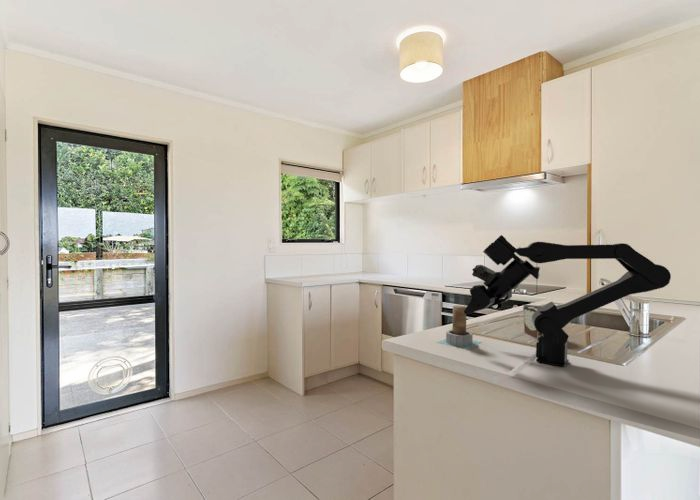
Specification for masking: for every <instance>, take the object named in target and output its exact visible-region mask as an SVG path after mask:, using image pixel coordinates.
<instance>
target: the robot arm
mask: <svg viewBox="0 0 700 500" xmlns="http://www.w3.org/2000/svg"><path fill="white" fill-rule="evenodd" d="M482 252H483V253H484V254H485V255H486V256H487V257H488V258H489V259H491V261H492V262H493V263H494V264H496V265H497V266H499V265H500V264H501V265H502V266H503V267H504V266H505V265H506V264H507V265H506V266H505V267H504V268H503V269H501V271H495V270H493V269H491V268H489V267H487V266H485V265H483V264H477V265H475V266H474V268H472V273H471V276H473V277H475V278H478V279H479V280H481V281H484V282H483V284H476V285H473V286H472V287H471V288H470V289H469V294H470V296H471V297H470V298H471V299H470V300H469V303H467V305H466V306H465V307H466V309H465V310H464V313H465V314H466V316H467V315H469V314H472V313H475V312H479V311H482V310H485V309H487V308H490V307H491V308H492V307H493V306H497V305H501V304H503V303H505V302H508V301H509V300H510V299H511V298H512V297H513V292H512V291H513V290H516V289H517V288H518V287H519V285H520V284H521V283H523V282H524V281H525V280H526V279H527V278H528V277H529V276H532V277H533V278H535V279H536V280H537V279H539V277H540V270H541V269H540V268H541V267H539V266H534V265H533V264H532V263H535V264H547V263H551V262H557V261H563V260H568V259H569V260H578V259H579V260H585V259H586V260H590V259H591V260H593V259H594V260H597V259H599V260H600V259H601V260H604V259H607V260H609V259H613V260H614V259H615V260H616V261H617V262H618V263H619V264H620V265H621V266H622V267H623V268H624V269H625V270H626V272H625V273H624V274H623V275H622V276H621V277H620V278H618V279H617V280H616V281H613V282H611V283H608V284H607V285H605V286H602V287H600V288H597V289H595V290H593V291H591V292H588V293H586V294H583V295H581V296H579V297H578V298H575V299H572V300H570V301H568V302H565V303H564V304H559V305H556V304H555V303H554V302H553V301H549V302H548V303H547V304H545V305H544V306H543V305H542V306H543V307H538V308H537V309H538V310H537V311H536V312H534V313H533V316H532V322H533V325H534V326H535V328H536V330H537V331H538V332H540V333H541V334H542V335H543V336H540V337H539V340H537V342H536V344H535V346H536V349H535V350H536V351H535V357H536V359H535V361H536V362H538V363H543V364H548V365H553V366H557V367H562V368H563V367H565V366H566V365H567V364H568V363H569V361H570V360H569V359H568V342H569V341H568V339H569V337H570V336H569V335H568V333H567V332H566V330H564V328H565V327H566V326H568V324H569V323H570V322H572V321H573V320H574V319H576V318H578V317H581V316H583V315H586V314H588V313H591V312H592V311H595V310H597V309H599V308H602V307H604V306H607V305H609V304H610V303H614V302H615V301H619V300H621V299H623V298H625V297H628V296H629V295H635V294H636V295H637V294H640V293H647V292H652V291H656V290H660V289H663V288H665V287H666V286H669V284H670V281H671V280H672V279H671V278H672V277H671V275H672V274H671V272H670V270H669V269H668V268H667V267H665V266H663V265H660V264H656V263H654V262H653V261H652V260H651V259H649V258H647V256H644V255H643V254H641V253H640V252H638V251H636V250H635V249H634V248H633V247H632V246H631V245H630V244H628V243H614V244H571V245H570V244H568V245H567V244H560V243H551V242H546V241H534V242H532V243H530V244H528V245H527V246H526V247H520V246H519V247H517V248H516V247H515V246H513V245H512V244H511V243H510V242H509V241H508V240H507V238H506V237H504V235H502V234H501V235H499V236H498V238H496V239H495V240H494V241H493V242H491V243H490V244H489V245H488V246H487V247H485V249H484V250H483V251H482ZM516 254H517V255H516ZM520 257H525V258H527V259H528V260H529V261H530V262H529V261H528V260H527V259H526V260H523V259H521V258H520ZM512 259H513V260H512ZM511 260H512V261H511ZM510 261H511V262H510ZM509 262H510V263H509ZM531 262H532V263H531ZM508 263H509V264H508Z"/></svg>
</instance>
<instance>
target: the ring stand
mask: <svg viewBox="0 0 700 500" xmlns="http://www.w3.org/2000/svg"><path fill="white" fill-rule="evenodd" d="M452 331H453V329H449V330H446V332H445V333H446V334H445V338H444V339H442V340H439V341H437V342H436V343H437V344H440V345H446V346H451V347H455V348H459V349H465V350H469V349H471V348H474V347H475V346H477V345H480V344H482V341H476V340H473V338H474V337H473V333H472V332H471V331H468V330H466V335H455V334H452Z"/></svg>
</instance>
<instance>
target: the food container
mask: <svg viewBox="0 0 700 500" xmlns="http://www.w3.org/2000/svg"><path fill="white" fill-rule="evenodd" d="M538 307H543V305H537V304H536V305H535V304H523V307H522V311H523V326H524V327H523V332H524V335H527V336H528V337H531V338H533V339H534V340H536V341H539V337H540V336H543V335H542V334H541V333H540V332H538V331H537V330H536V328H535V326H534V325H533V322H532V316H533V313H534V312H536V311H537V310H538V309H537V308H538Z"/></svg>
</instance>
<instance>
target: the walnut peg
mask: <svg viewBox="0 0 700 500" xmlns="http://www.w3.org/2000/svg"><path fill="white" fill-rule="evenodd" d="M466 307H467V306H464V305H453V306H452V330H453V331H452V334H455V335H466V331H467V315H466V314H465V313H464V310H465V309H466Z"/></svg>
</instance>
